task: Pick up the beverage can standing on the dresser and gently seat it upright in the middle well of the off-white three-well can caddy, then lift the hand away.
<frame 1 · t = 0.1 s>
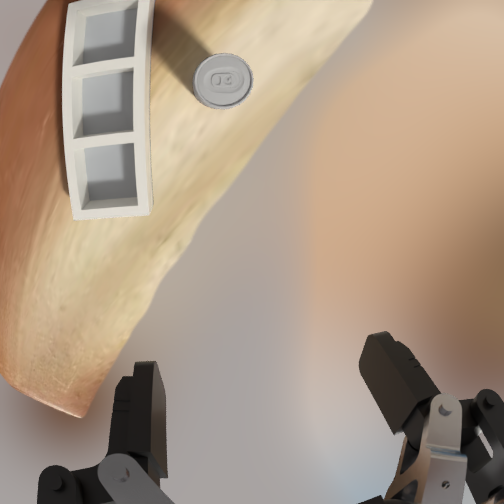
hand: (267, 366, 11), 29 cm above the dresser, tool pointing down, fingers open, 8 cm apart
beverage can: (214, 88, 31), on the dresser
can caddy: (111, 102, 29), on the dresser
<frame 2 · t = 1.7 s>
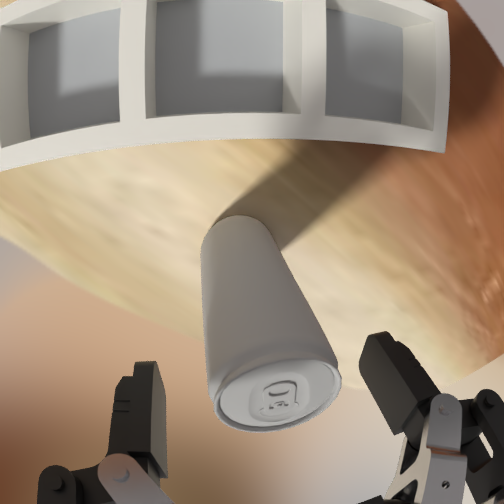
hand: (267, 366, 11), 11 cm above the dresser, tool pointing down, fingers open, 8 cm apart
beverage can: (236, 245, 20), on the dresser
can caddy: (219, 54, 14), on the dresser
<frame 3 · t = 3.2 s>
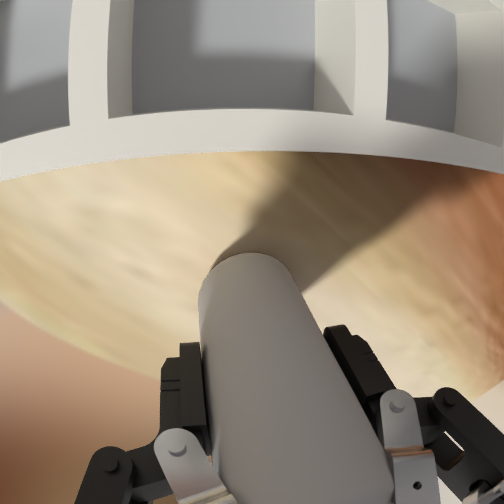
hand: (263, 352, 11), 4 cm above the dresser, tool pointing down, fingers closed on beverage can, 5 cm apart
beverage can: (245, 287, 15), on the dresser, touching gripper
can caddy: (224, 26, 9), on the dresser
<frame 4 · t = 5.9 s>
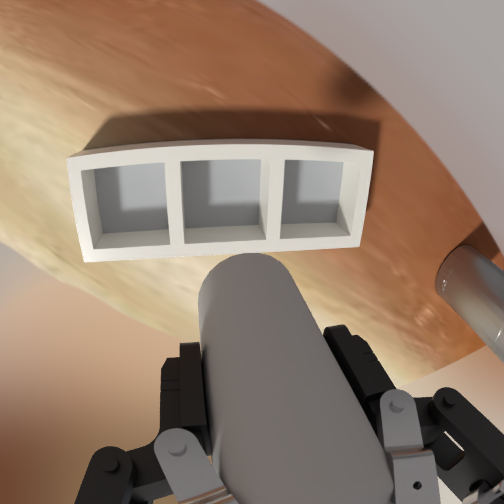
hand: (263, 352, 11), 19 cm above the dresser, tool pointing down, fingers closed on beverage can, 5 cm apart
beverage can: (245, 288, 15), point 15 cm above the dresser, touching gripper
can caddy: (221, 189, 28), on the dresser
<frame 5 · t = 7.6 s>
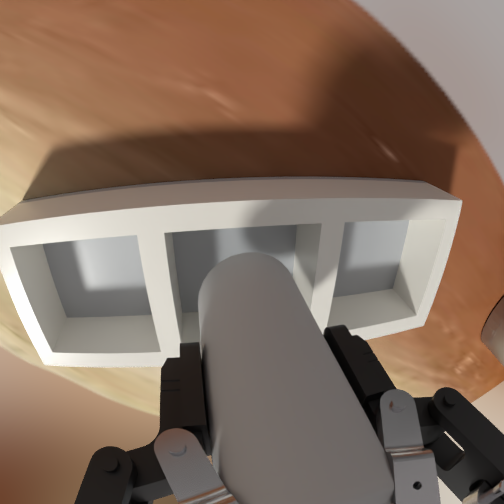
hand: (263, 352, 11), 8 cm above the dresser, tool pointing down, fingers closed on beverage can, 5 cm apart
beverage can: (245, 287, 15), point 3 cm above the dresser, touching gripper
can caddy: (234, 255, 18), on the dresser
when the fingers open (6 cm above the dresser, at t = 8.8 s): beverage can stays where it is, resting on can caddy.
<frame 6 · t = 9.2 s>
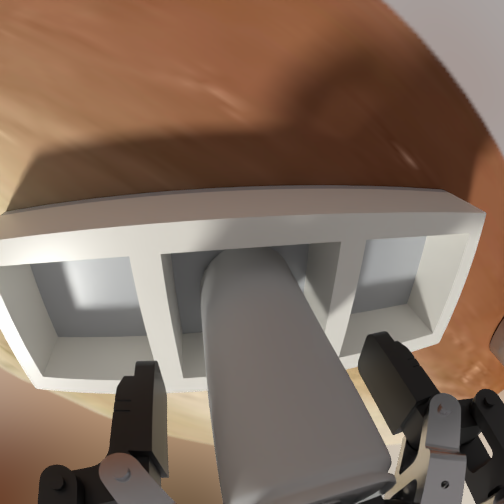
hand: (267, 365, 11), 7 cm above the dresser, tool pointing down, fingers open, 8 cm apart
beverage can: (244, 278, 16), resting on can caddy
can caddy: (240, 272, 17), on the dresser
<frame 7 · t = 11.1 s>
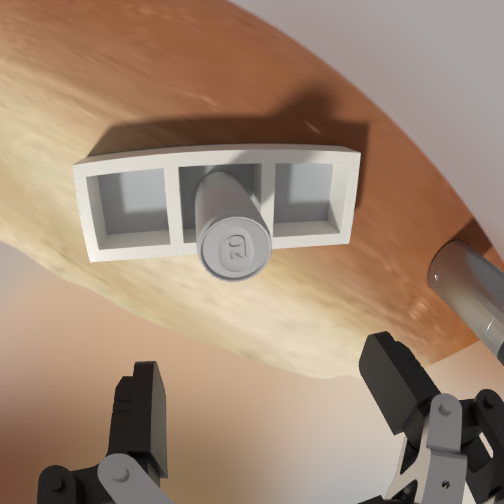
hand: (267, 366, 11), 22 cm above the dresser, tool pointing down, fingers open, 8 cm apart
beverage can: (219, 193, 30), resting on can caddy
can caddy: (217, 191, 30), on the dresser
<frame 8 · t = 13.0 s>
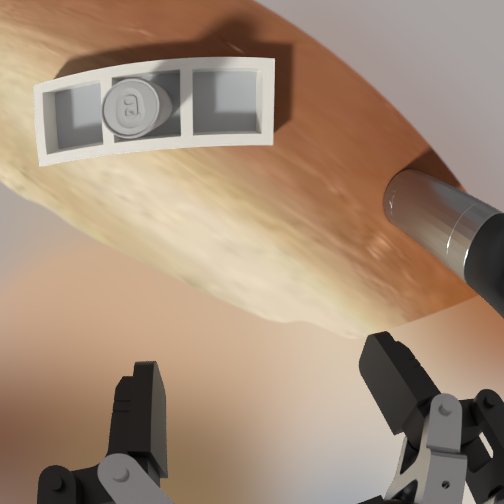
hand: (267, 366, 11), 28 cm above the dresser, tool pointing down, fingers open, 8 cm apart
beverage can: (151, 106, 30), resting on can caddy
can caddy: (151, 105, 30), on the dresser
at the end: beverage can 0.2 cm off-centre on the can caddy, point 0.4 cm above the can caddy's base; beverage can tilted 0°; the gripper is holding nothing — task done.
